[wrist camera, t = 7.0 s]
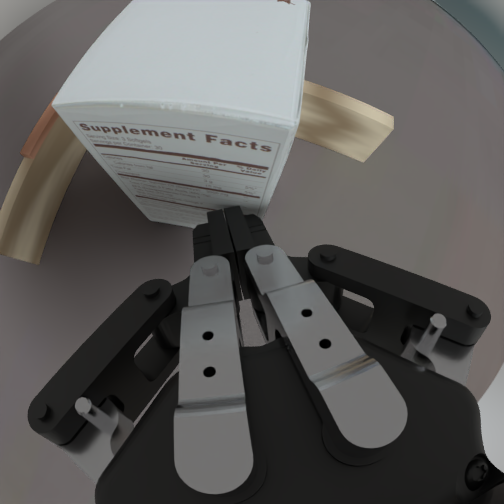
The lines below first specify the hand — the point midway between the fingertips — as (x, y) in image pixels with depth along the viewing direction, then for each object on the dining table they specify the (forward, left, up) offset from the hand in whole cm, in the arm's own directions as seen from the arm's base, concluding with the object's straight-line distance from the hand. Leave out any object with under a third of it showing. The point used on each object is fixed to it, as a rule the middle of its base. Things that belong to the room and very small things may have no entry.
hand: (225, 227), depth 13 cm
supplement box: (-2, +4, -5) cm, 7 cm away
